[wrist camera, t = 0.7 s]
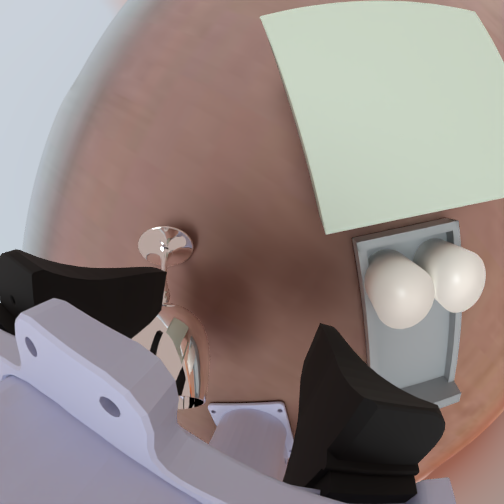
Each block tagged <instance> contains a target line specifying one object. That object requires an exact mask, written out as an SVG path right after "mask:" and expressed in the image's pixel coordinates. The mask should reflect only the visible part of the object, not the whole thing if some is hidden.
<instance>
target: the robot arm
mask: <svg viewBox="0 0 504 504" xmlns="http://www.w3.org/2000/svg"><path fill="white" fill-rule="evenodd" d="M166 275H167V272H166V271H163V270H160V269H158V268H154V267H130V268H88V267H78V266H72V265H66V264H60V263H56V262H52V261H49V260H45V259H42V258H39V257H36V256H33V255H31V254H28V253H26V252H23V251H21V250H12V251H9V252H5V253H2V254H1V256H0V301H1V303H0V504H456V501H455V497H454V493H453V490H452V486H451V482H450V479H449V478H438V479H427V480H422V481H420V482H418V483H415V478H414V475H417V474H418V473H419V467H418V463H419V462H420V461H421V460H422V459H423V458H424V457H425V456H426V455H427V454H428V453H429V452H430V451H431V449H432V448H433V447H434V446H435V445H436V444H437V442H438V441H439V440H440V438H441V437H442V435H443V432H444V430H445V421H444V419H443V416H442V414H441V411H440V409H439V407H438V405H436V404H434V403H431V402H428V401H426V400H423V399H420V398H418V397H415V396H413V395H411V394H409V393H407V392H405V391H403V390H402V389H400V388H398V387H396V386H395V385H393V384H392V383H390V382H389V381H387V380H386V379H384V378H383V377H381V376H380V375H379V374H377V373H376V372H375V371H374V370H373V369H371V368H370V367H369V366H368V365H367V364H366V363H365V362H364V361H363V360H362V359H361V358H360V357H359V356H358V355H357V354H356V353H355V352H354V351H353V349H352V348H351V347H350V346H349V345H348V343H347V342H346V341H345V340H344V338H343V337H342V336H341V335H340V333H339V332H338V331H337V330H336V329H335V328H334V327H332V326H328V325H325V324H321V323H320V325H319V327H318V330H317V332H316V334H315V337H314V339H313V342H312V344H311V346H310V349H309V351H308V353H307V356H306V358H305V360H304V364H303V369H302V374H301V381H300V398H299V413H298V423H297V428H296V433H295V437H294V438H293V435H292V431H291V427H290V423H289V420H288V416H287V412H286V408H285V405H284V403H283V402H262V403H210V404H209V405H208V409H209V412H210V414H211V416H212V418H213V420H214V422H215V424H216V426H217V428H216V430H215V432H214V434H213V436H212V438H211V440H210V442H209V444H207V443H206V442H204V441H202V440H201V439H199V438H198V437H196V436H194V435H193V434H191V433H190V432H188V431H187V430H185V429H184V428H182V427H181V426H180V425H179V424H178V423H177V410H178V402H179V397H178V392H177V386H176V381H175V379H174V378H173V376H172V375H171V373H170V372H169V371H168V369H167V368H166V366H165V365H164V364H163V362H162V361H161V359H160V358H159V357H157V356H156V355H154V354H153V353H152V352H150V351H149V350H148V349H146V348H145V347H144V346H142V345H141V344H140V343H138V342H136V341H134V340H132V338H133V337H134V336H136V335H137V334H138V333H139V332H140V331H142V330H143V329H144V328H145V327H146V326H148V325H149V324H150V323H151V322H152V321H153V320H154V319H155V317H156V316H157V315H158V314H159V313H160V311H161V310H162V302H163V295H164V288H165V281H166ZM279 409H281V410H279ZM213 410H214V411H213ZM288 458H289V461H288ZM287 463H288V465H287Z"/></svg>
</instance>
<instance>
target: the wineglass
mask: <svg viewBox="0 0 504 504" xmlns="http://www.w3.org/2000/svg"><path fill="white" fill-rule="evenodd" d="M138 249H139V252H140V254H141V255H142V256H143V257H144V258H145V259H146V260H147V261H149V262H151V263H153V264H156V265H160V266H161V270H163V271H166V272H167V266H173V265H177V264H180V263H182V262H184V261H186V260H187V259H188V258H189V257H190V256H191V254H192V252H193V242H192V240H191V238H190V237H189V236H188V235H187V234H186V233H185V232H184V231H182V230H180V229H178V228H175V227H170V226H159V227H154V228H151V229H149V230H147V231H146V232H144V233H143V234H142V235H141V237H140V239H139V241H138ZM169 300H170V292H169V288H168V284H167V275H166V281H165V288H164V295H163V302H162V310H161V311H160V313H159V314H158V315H157V316H156V317H155V319H154V320H153V321H152V322H151V323H150V324H149V325H148V326H146V327H145V328H144V329H143V330H142V331H140V332H139V333H138V334H137V335H136V336H134V337H133V338H132V340H134V341H136V342H138V343H140V344H141V345H142V346H144V347H145V348H146V349H148V350H149V351H150V352H152V353H153V354H154V355H156V356H157V357H159V358H160V359H161V361H162V362H163V364H164V365H165V366H166V368H167V369H168V371H169V372H170V373H171V375H172V376H173V378H174V379H175V381H176V386H177V392H178V397H179V402H178V410H181V409H189V408H195V407H199V406H202V405H203V404H205V401H206V396H207V389H208V382H209V370H210V350H209V343H208V338H207V335H206V332H205V329H204V327H203V325H202V323H201V321H200V320H199V319H198V318H197V317H196V316H195V315H194V314H193V313H192V312H191V311H189V310H188V309H186V308H184V307H181V306H179V305H176V304H173V303H169Z"/></svg>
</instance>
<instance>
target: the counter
mask: <svg viewBox="0 0 504 504" xmlns="http://www.w3.org/2000/svg"><path fill="white" fill-rule="evenodd" d="M260 18H261V21H262V24H263V26H264V29H265V32H266V35H267V37H268V40H269V43H270V46H271V49H272V52H273V55H274V57H275V60H276V63H277V67H278V70H279V73H280V76H281V79H282V82H283V85H284V89H285V92H286V95H287V98H288V101H289V104H290V107H291V111H292V114H293V117H294V120H295V124H296V127H297V130H298V134H299V137H300V141H301V144H302V148H303V152H304V155H305V159H306V163H307V166H308V170H309V174H310V178H311V182H312V186H313V190H314V194H315V199H316V203H317V207H318V211H319V216H320V219H321V222H322V225H323V228H324V230H325V233H326V235H327V234H331V233H336V232H341V231H346V230H351V229H355V228H360V227H365V226H370V225H374V224H379V223H384V222H389V221H394V220H398V219H403V218H408V217H413V216H418V215H423V214H427V213H432V212H437V211H442V210H447V209H452V208H456V207H461V206H466V205H471V204H476V203H481V202H485V201H490V200H495V199H500V198H504V62H503V60H502V58H501V56H500V54H499V52H498V50H497V48H496V46H495V45H494V43H493V41H492V39H491V37H490V36H489V34H488V32H487V30H486V29H485V27H484V25H483V24H482V22H481V21H480V19H479V17H478V16H477V14H476V13H475V12H474V11H469V10H465V9H460V8H455V7H449V6H443V5H436V4H428V3H418V2H405V1H354V2H340V3H330V4H322V5H314V6H308V7H302V8H296V9H291V10H286V11H281V12H277V13H272V14H268V15H264V16H260Z"/></svg>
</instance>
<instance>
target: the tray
mask: <svg viewBox="0 0 504 504" xmlns="http://www.w3.org/2000/svg"><path fill="white" fill-rule="evenodd" d="M352 241H353V247H354V252H355V258H356V264H357V271H358V277H359V284H360V292H361V300H362V308H363V317H364V327H365V338H366V351H367V365H368V366H369V367H370V368H371V369H373V370H374V371H375V372H376V373H377V374H379V375H380V376H381V377H383V378H384V379H386V380H387V381H389V382H390V383H392V384H393V385H395V386H396V387H398V388H400V389H402V390H403V391H405V392H407V393H409V394H411V395H413V396H415V397H418V398H420V399H423V400H426V401H428V402H431V403H434V404H436V405H438V407H439V408H442V407H445V406H448V405H451V404H453V403H456V402H458V401H459V400H460V396H461V392H460V390H459V389H458V387H457V385H456V384H455V382H454V377H455V371H456V365H457V358H458V350H459V341H460V330H461V316H462V312H463V311H465V310H467V309H469V308H470V307H472V306H473V305H474V304H475V302H476V301H477V300H478V299H479V297H480V295H481V293H482V291H483V288H484V285H485V279H486V272H485V266H484V263H483V261H482V260H481V258H480V257H479V256H478V255H477V254H476V253H474V252H471V251H469V250H467V249H464V248H462V247H461V242H460V231H459V222H458V220H453V219H449V218H443V219H439V220H434V221H429V222H425V223H420V224H415V225H411V226H406V227H401V228H397V229H392V230H387V231H383V232H378V233H373V234H368V235H364V236H359V237H354V238H352Z"/></svg>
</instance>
